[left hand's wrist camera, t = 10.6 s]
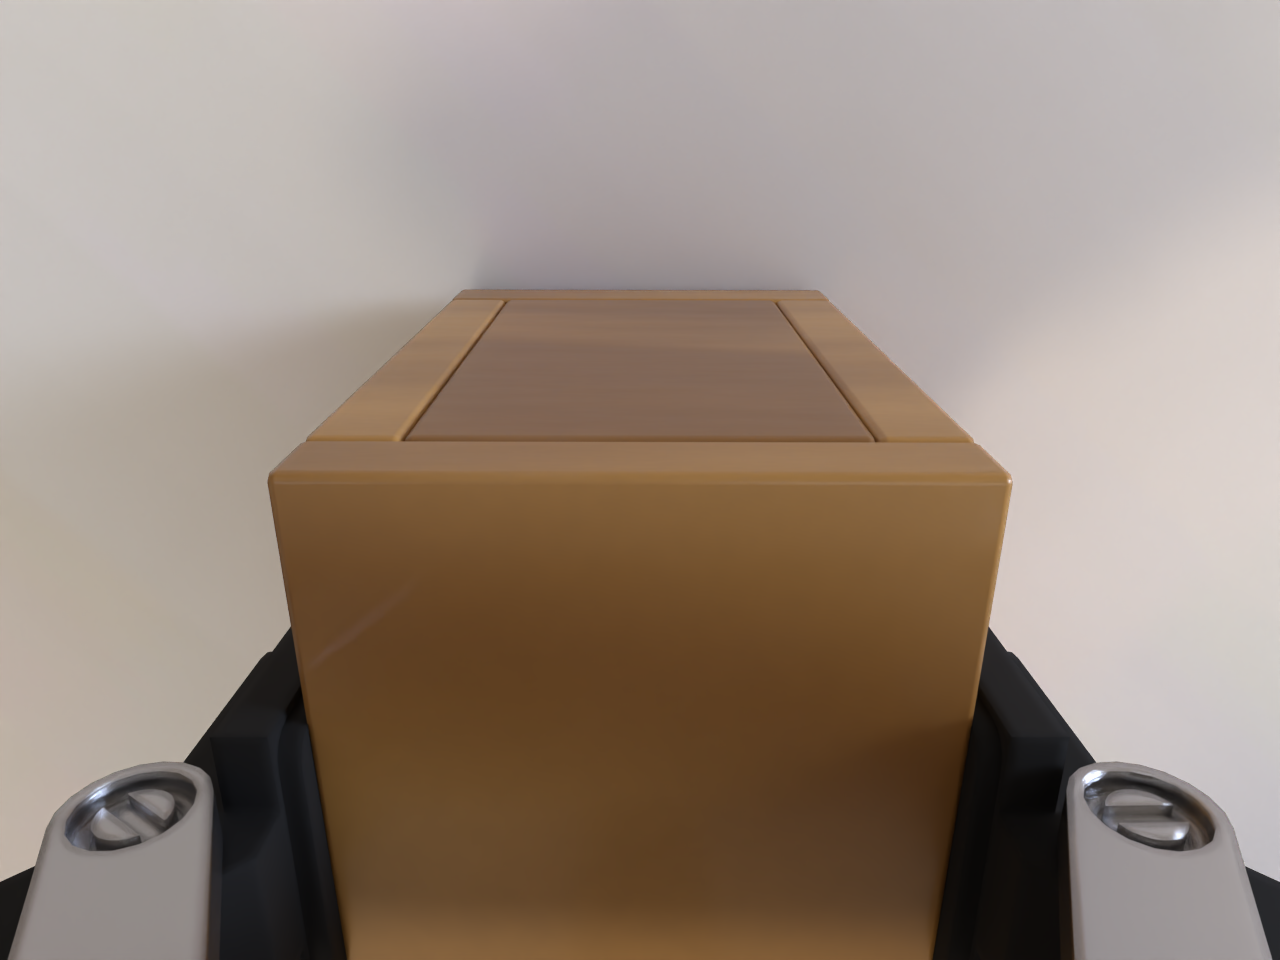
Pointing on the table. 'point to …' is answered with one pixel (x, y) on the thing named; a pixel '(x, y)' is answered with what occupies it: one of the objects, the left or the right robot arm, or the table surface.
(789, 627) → the cabinet
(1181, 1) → the table surface
